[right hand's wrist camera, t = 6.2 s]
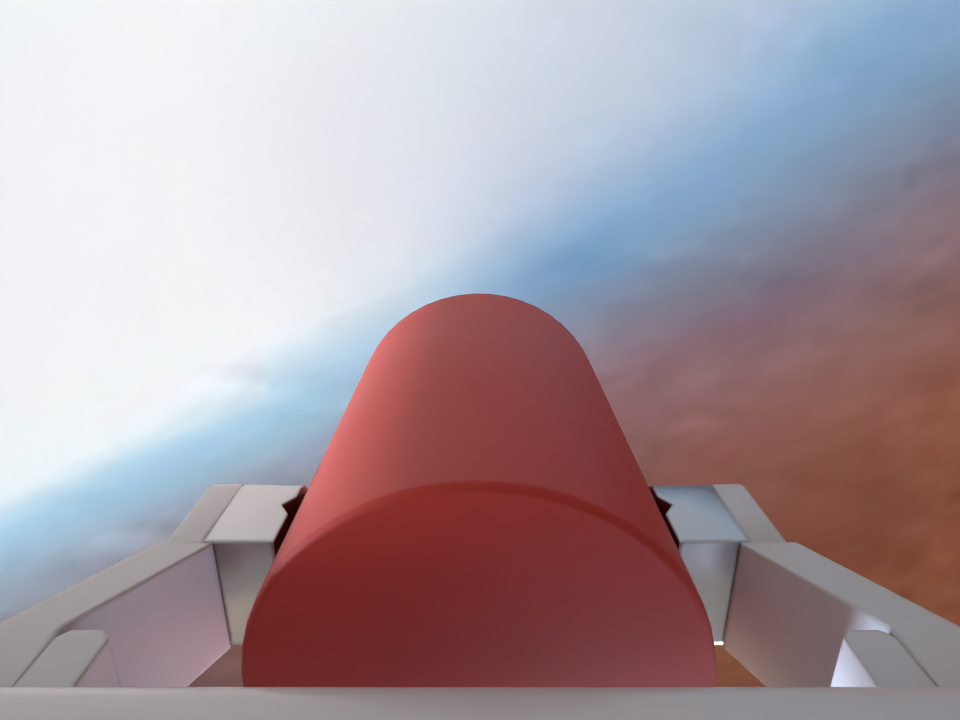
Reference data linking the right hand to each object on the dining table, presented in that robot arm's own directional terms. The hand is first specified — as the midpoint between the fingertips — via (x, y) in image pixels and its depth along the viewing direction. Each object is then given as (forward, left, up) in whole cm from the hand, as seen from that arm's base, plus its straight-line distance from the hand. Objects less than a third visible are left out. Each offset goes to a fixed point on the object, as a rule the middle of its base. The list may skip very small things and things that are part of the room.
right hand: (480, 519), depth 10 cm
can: (0, 0, -5) cm, 5 cm away
